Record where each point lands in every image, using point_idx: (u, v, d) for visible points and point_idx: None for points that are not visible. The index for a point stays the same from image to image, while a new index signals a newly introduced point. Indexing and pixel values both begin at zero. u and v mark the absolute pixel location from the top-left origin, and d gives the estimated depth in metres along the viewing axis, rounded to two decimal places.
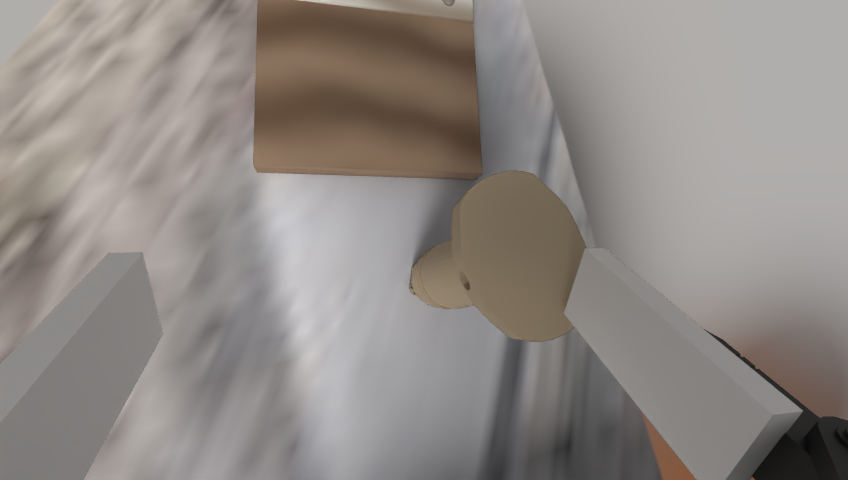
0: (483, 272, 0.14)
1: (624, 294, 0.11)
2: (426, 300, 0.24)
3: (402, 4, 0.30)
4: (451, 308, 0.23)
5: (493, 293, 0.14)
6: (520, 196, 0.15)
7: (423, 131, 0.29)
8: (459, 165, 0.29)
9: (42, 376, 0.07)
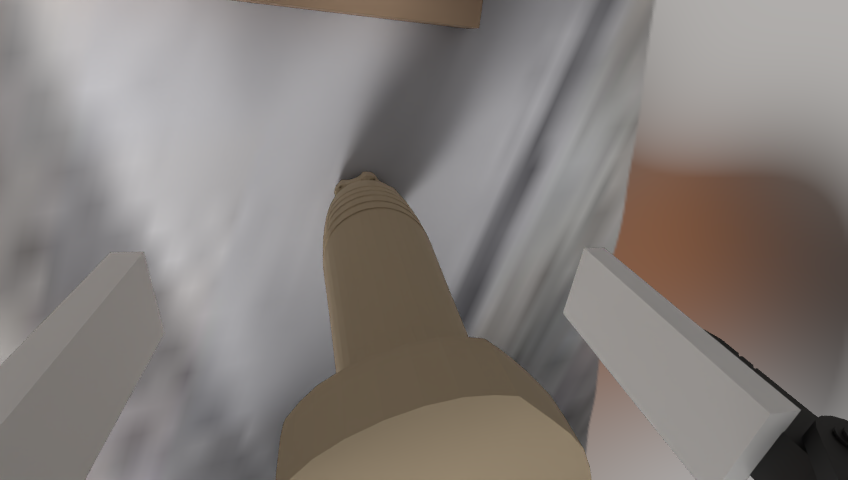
0: None
1: (623, 294, 0.11)
2: None
3: None
4: None
5: None
6: (463, 451, 0.05)
7: None
8: (436, 6, 0.15)
9: (44, 375, 0.07)
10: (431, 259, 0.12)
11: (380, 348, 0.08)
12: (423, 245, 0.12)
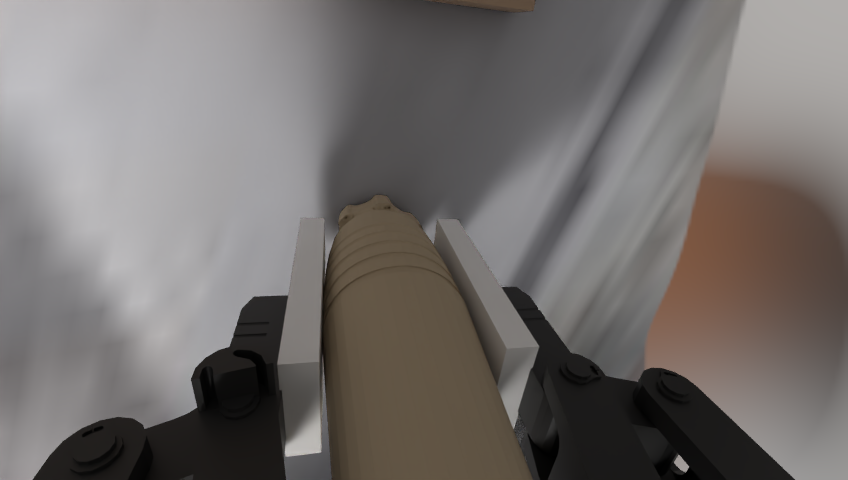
0: None
1: (452, 257, 0.12)
2: None
3: None
4: None
5: None
6: None
7: None
8: None
9: None
10: (478, 359, 0.08)
11: None
12: (465, 332, 0.09)
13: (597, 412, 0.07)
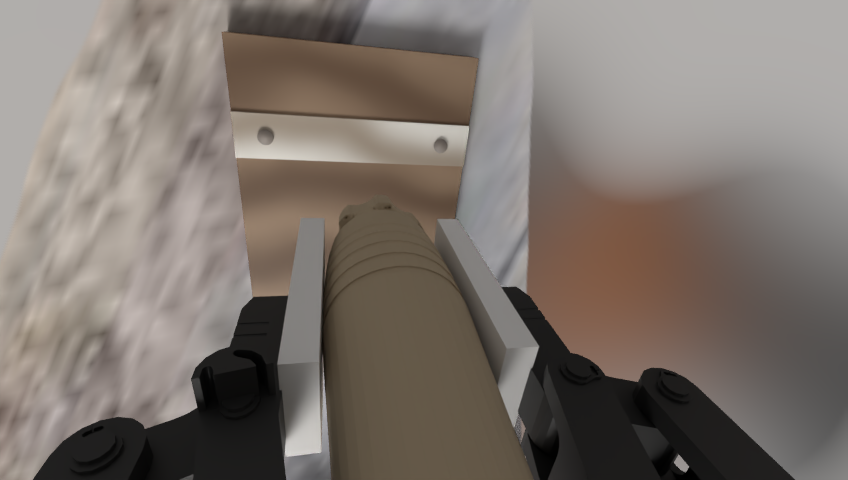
0: None
1: (452, 257, 0.12)
2: None
3: (389, 155, 0.29)
4: None
5: None
6: None
7: None
8: None
9: None
10: (479, 360, 0.08)
11: None
12: (465, 333, 0.08)
13: (597, 412, 0.07)
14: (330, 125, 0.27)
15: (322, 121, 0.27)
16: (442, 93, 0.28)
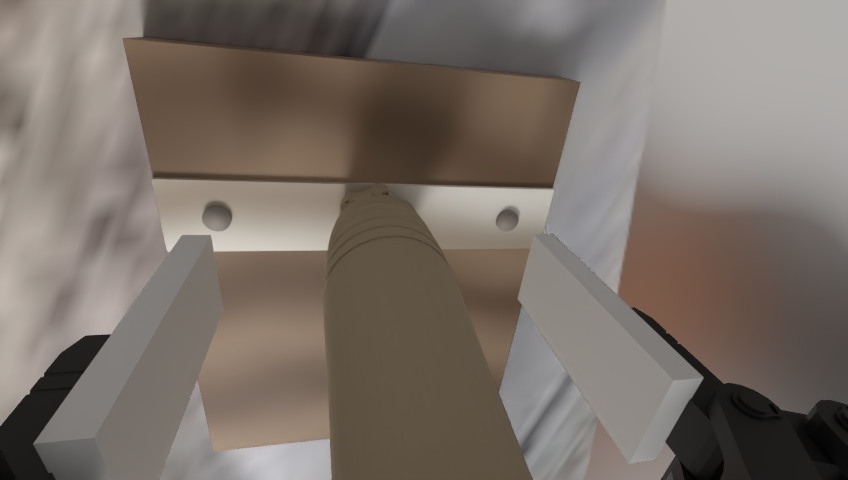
0: None
1: (563, 276, 0.12)
2: None
3: None
4: None
5: None
6: None
7: None
8: None
9: (156, 332, 0.08)
10: (460, 311, 0.09)
11: None
12: (449, 290, 0.10)
13: (776, 449, 0.07)
14: (328, 195, 0.16)
15: (315, 189, 0.16)
16: (515, 139, 0.17)
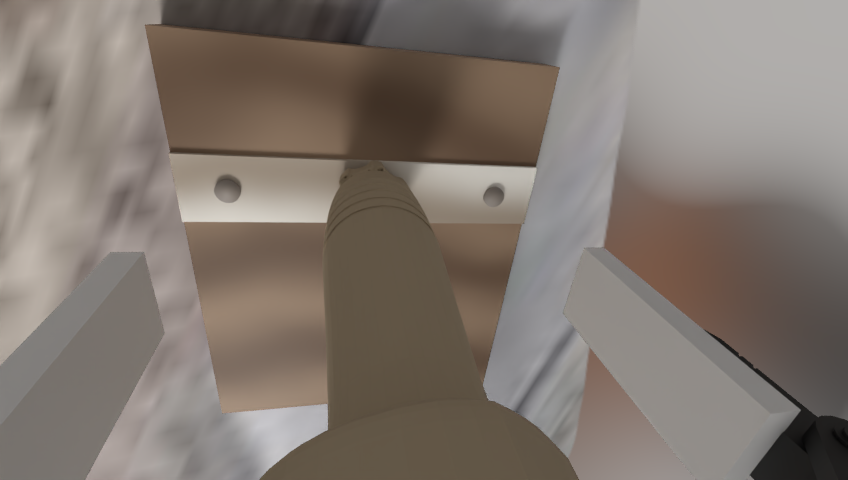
0: None
1: (623, 293, 0.11)
2: None
3: None
4: None
5: None
6: None
7: None
8: None
9: (45, 375, 0.07)
10: (438, 268, 0.11)
11: (374, 383, 0.07)
12: (430, 251, 0.11)
13: None
14: (329, 171, 0.17)
15: (317, 165, 0.17)
16: (500, 120, 0.18)
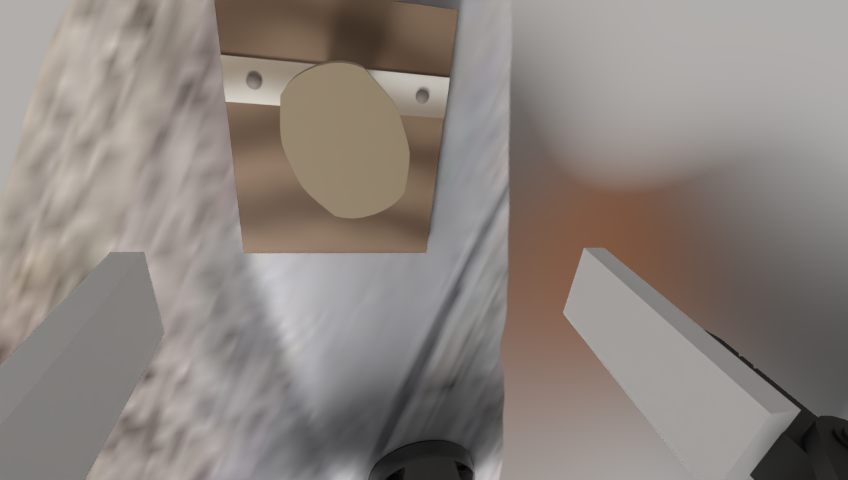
0: (302, 161, 0.16)
1: (623, 293, 0.11)
2: None
3: None
4: None
5: (311, 179, 0.17)
6: (346, 92, 0.15)
7: (381, 223, 0.35)
8: (408, 247, 0.37)
9: (45, 375, 0.07)
10: None
11: None
12: None
13: None
14: None
15: (308, 67, 0.28)
16: (423, 44, 0.29)
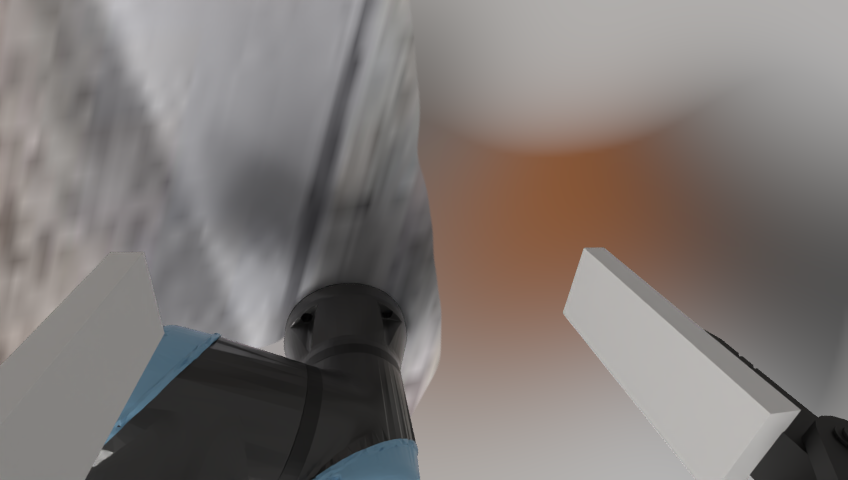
0: None
1: (623, 293, 0.11)
2: None
3: None
4: None
5: None
6: None
7: None
8: None
9: (45, 375, 0.07)
10: None
11: None
12: None
13: None
14: None
15: None
16: None
